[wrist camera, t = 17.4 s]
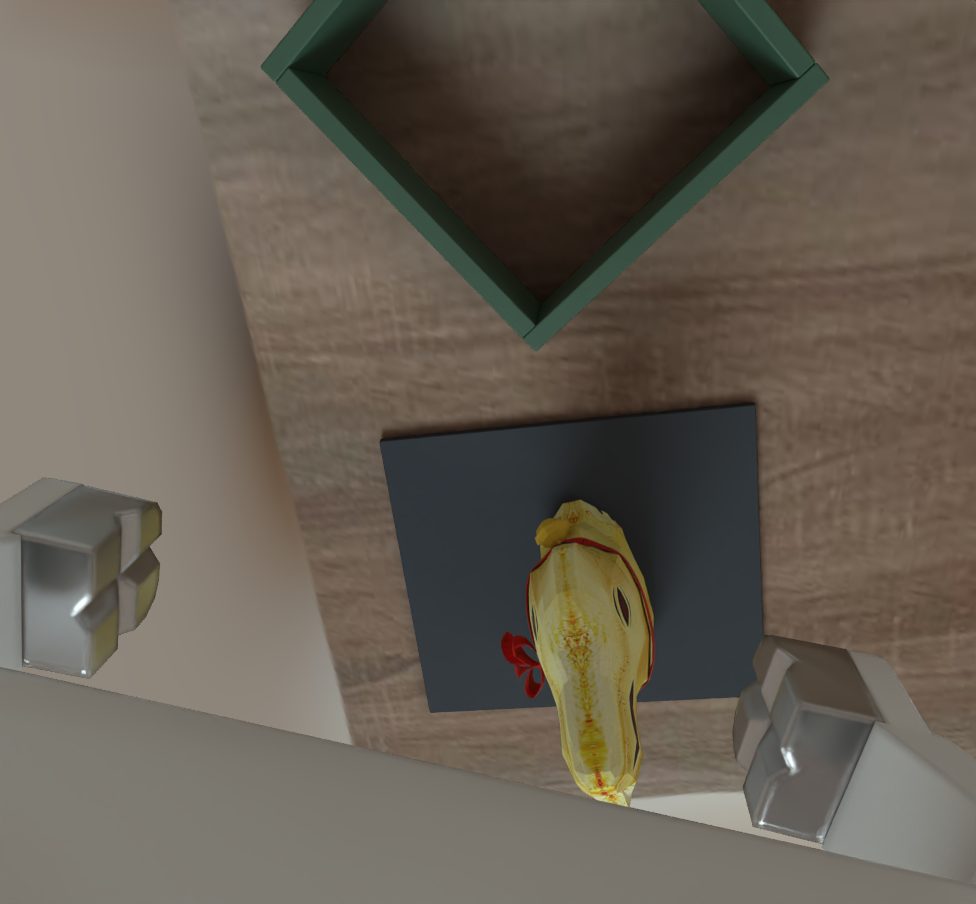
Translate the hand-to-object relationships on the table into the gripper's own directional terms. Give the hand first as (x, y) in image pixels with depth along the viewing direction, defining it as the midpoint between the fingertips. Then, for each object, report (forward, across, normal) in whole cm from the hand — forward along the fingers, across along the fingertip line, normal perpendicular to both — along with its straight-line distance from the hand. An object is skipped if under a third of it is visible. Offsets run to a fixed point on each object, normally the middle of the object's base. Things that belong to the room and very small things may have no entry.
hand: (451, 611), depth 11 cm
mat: (+30, -5, +14) cm, 33 cm away
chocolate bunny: (+29, -5, +14) cm, 33 cm away
